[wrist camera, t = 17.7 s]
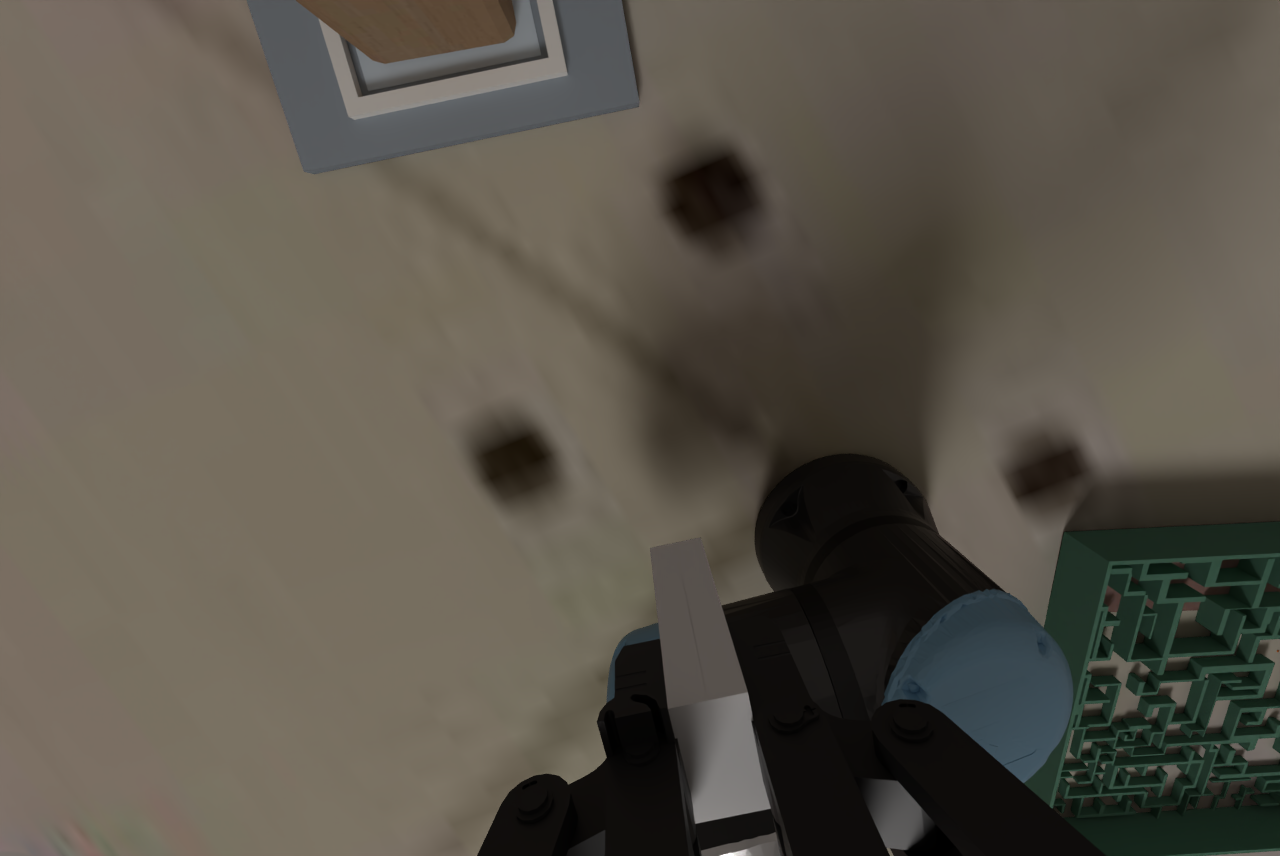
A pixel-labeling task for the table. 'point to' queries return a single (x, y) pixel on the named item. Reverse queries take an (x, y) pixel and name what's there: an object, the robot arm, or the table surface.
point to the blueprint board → (443, 82)
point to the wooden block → (416, 25)
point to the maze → (1152, 604)
